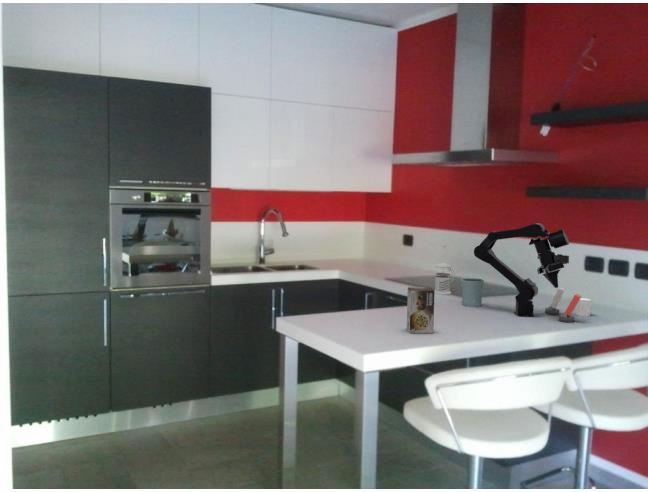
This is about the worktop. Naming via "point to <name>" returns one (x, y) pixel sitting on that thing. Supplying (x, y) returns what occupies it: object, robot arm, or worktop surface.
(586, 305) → the shot glass
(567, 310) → the block
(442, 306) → the worktop surface
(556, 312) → the grey switch base
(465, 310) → the worktop surface
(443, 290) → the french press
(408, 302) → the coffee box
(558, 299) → the block
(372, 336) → the worktop surface
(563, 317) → the dark rounded piece
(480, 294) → the grey green cup
